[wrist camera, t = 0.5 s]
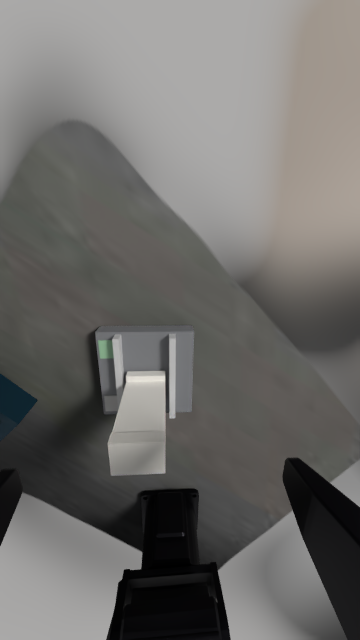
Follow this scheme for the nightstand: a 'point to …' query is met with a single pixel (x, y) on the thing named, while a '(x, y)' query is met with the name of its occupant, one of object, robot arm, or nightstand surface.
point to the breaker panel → (146, 362)
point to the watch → (12, 405)
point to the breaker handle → (139, 426)
